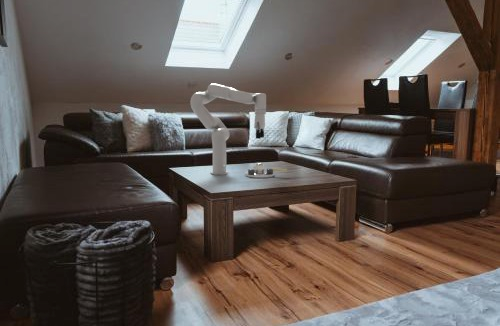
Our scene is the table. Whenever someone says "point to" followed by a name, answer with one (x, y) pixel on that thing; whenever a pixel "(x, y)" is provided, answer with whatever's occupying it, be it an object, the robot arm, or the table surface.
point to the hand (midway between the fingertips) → (259, 137)
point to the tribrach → (258, 172)
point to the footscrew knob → (270, 171)
